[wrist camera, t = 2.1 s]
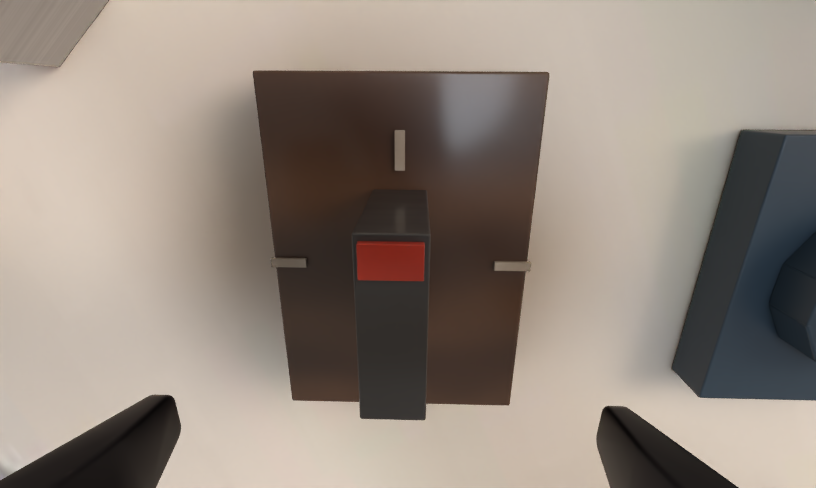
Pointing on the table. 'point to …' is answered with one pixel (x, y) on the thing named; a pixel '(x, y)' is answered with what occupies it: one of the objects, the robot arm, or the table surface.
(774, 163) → the blue button base
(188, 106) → the table surface
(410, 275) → the dark grey block
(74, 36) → the grey wedge block
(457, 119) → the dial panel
